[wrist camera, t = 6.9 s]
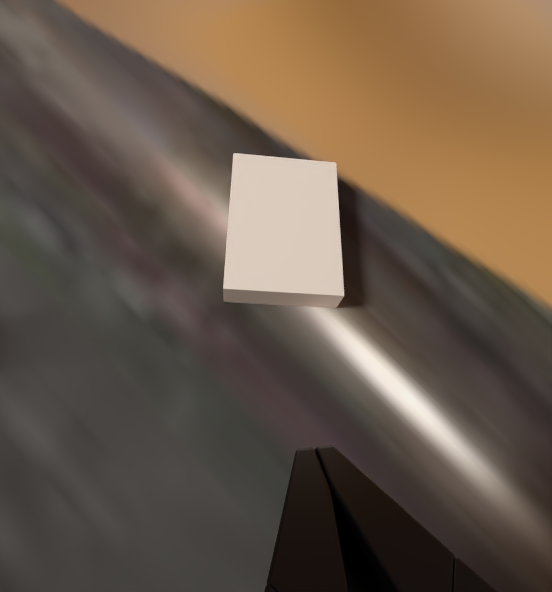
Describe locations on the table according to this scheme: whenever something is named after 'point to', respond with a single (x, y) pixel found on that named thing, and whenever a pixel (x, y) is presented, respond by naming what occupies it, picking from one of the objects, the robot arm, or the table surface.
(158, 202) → the table surface
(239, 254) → the tile
